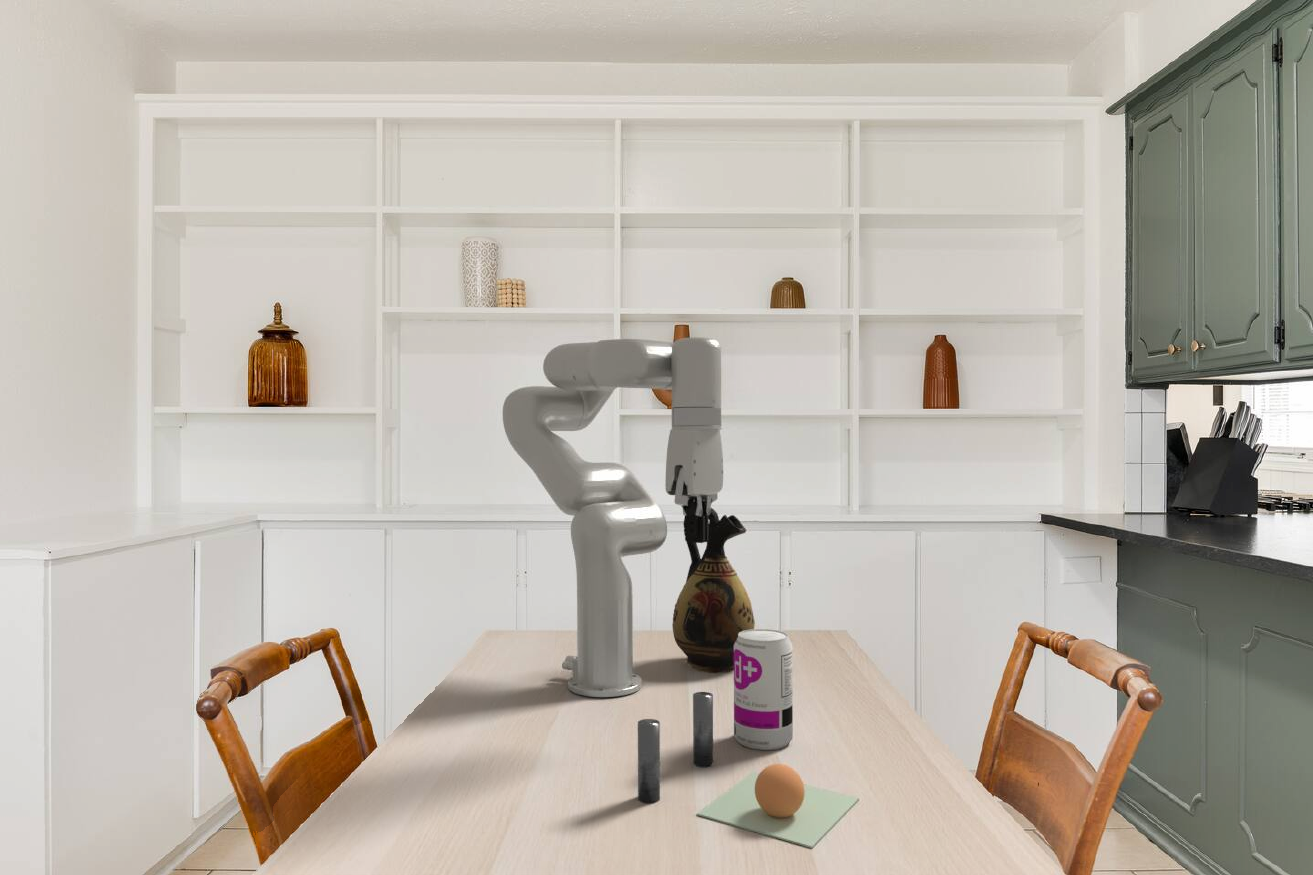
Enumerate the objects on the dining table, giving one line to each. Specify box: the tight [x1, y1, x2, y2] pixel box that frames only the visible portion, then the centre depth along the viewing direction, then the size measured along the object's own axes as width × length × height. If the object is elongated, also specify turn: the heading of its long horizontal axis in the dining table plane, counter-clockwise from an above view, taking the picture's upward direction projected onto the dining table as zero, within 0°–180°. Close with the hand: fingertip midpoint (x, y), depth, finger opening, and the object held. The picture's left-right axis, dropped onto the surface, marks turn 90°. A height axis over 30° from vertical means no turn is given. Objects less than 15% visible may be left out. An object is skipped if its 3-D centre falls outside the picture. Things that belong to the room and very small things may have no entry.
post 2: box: [692, 691, 714, 768], centre depth 110 cm, size 3×3×9 cm
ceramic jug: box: [672, 507, 756, 674], centre depth 157 cm, size 17×15×30 cm
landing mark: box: [696, 771, 860, 849], centre depth 97 cm, size 14×14×1 cm
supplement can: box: [733, 628, 794, 751], centre depth 118 cm, size 8×8×15 cm
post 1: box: [637, 718, 661, 804], centre depth 99 cm, size 3×3×9 cm
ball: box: [755, 763, 805, 818], centre depth 95 cm, size 6×6×6 cm
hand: (696, 541), depth 126 cm, fingers closed
